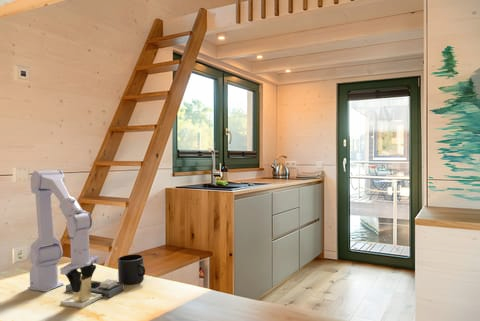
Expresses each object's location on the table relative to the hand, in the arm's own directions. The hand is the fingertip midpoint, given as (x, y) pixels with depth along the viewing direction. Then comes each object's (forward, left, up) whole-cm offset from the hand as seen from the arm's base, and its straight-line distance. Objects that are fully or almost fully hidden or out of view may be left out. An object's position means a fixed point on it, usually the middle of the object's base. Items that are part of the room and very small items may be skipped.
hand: (81, 289), depth 122 cm
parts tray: (0, 0, -4) cm, 4 cm away
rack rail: (-3, +9, -4) cm, 10 cm away
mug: (+4, +22, -4) cm, 23 cm away
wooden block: (0, 0, -3) cm, 3 cm away
